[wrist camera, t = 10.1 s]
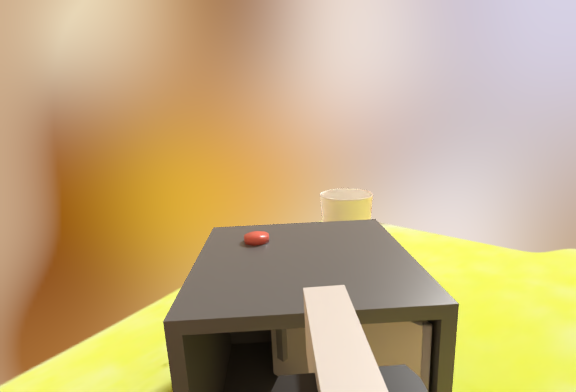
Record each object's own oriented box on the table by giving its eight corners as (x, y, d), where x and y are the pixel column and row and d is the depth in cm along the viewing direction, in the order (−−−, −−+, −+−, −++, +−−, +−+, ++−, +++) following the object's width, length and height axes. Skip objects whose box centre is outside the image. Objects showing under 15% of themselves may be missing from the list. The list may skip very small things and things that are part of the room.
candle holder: (344, 268, 61) (344, 202, 59) (311, 252, 69) (309, 193, 67) (383, 254, 66) (384, 193, 64) (347, 240, 74) (347, 186, 72)
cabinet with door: (373, 337, 42) (375, 214, 39) (444, 493, 25) (459, 294, 21) (210, 347, 42) (197, 223, 38) (165, 515, 24) (133, 314, 21)
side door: (425, 467, 25) (434, 323, 22) (417, 482, 24) (425, 333, 21) (279, 368, 35) (273, 262, 33) (269, 376, 34) (262, 267, 32)
